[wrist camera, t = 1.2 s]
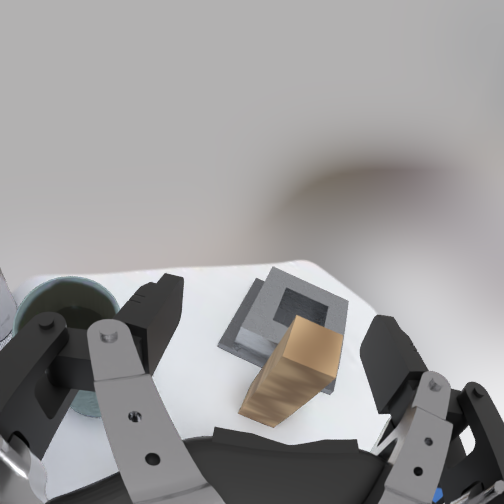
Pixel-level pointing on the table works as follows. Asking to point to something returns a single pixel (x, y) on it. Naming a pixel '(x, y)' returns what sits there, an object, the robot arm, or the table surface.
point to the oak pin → (293, 372)
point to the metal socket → (280, 316)
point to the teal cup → (70, 316)
